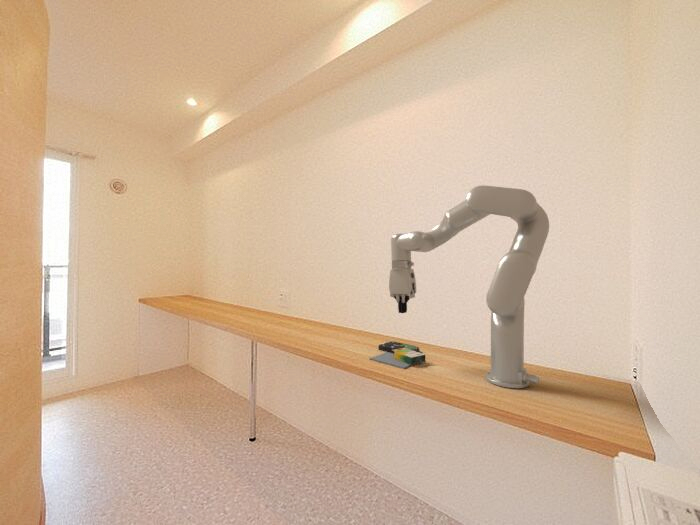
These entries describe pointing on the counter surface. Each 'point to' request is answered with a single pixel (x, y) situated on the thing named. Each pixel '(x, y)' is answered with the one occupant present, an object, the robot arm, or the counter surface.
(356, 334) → the counter surface
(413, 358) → the crayon box
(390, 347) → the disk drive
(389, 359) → the slate pad
